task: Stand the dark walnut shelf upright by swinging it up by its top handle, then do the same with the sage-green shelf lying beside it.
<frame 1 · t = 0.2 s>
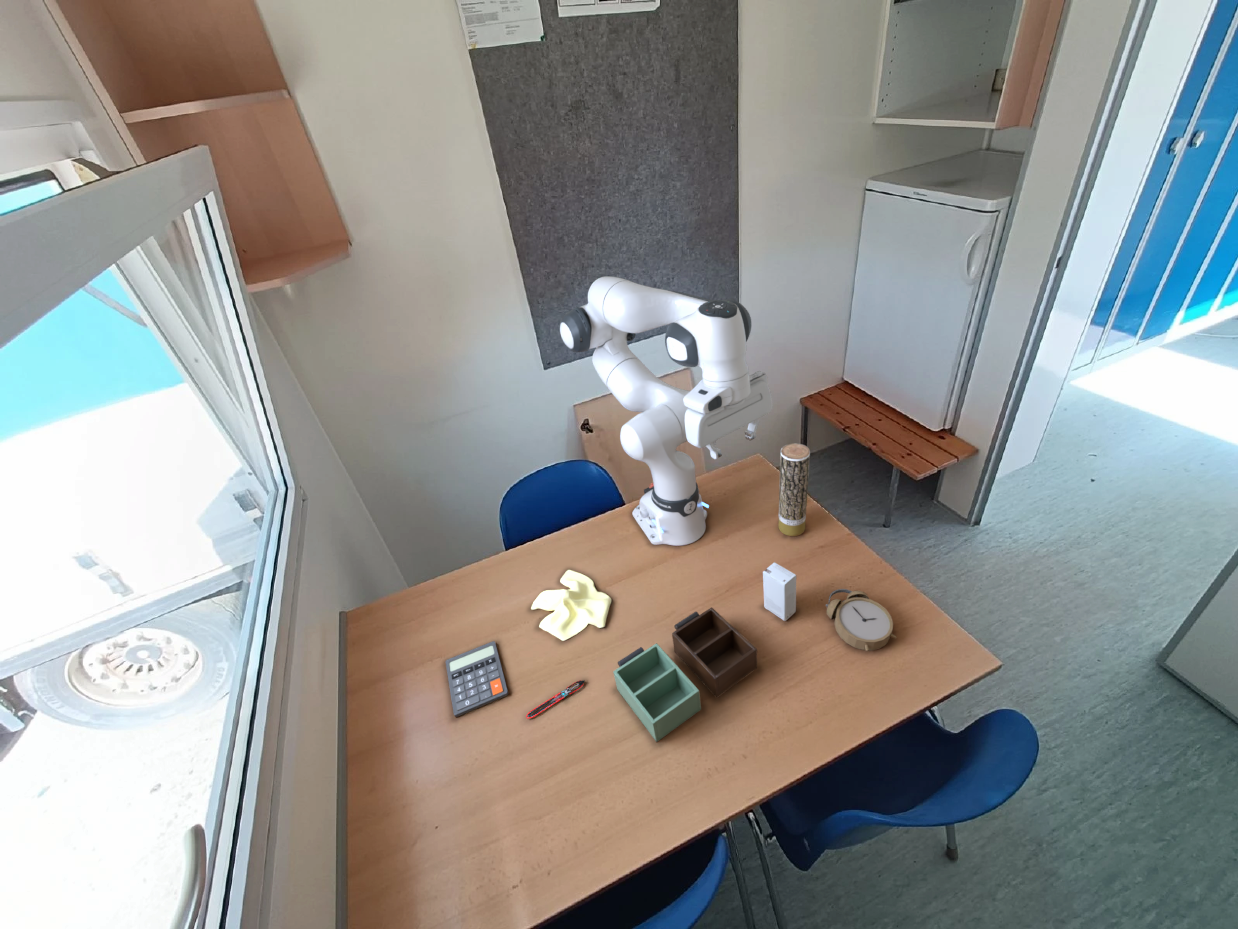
hand: (733, 447, 116), 39 cm above the table, tool pointing down, fingers open, 8 cm apart
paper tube: (791, 529, 149), on the table
walnut shelf: (709, 646, 120), point 3 cm above the table, hinge at 0.0°
sage shelf: (652, 685, 114), point 3 cm above the table, hinge at 0.0°
cloth: (570, 604, 139), on the table
pen: (556, 700, 118), on the table
alarm clock: (856, 623, 123), on the table
cosmetic box: (779, 610, 129), on the table
calculator: (476, 678, 125), on the table
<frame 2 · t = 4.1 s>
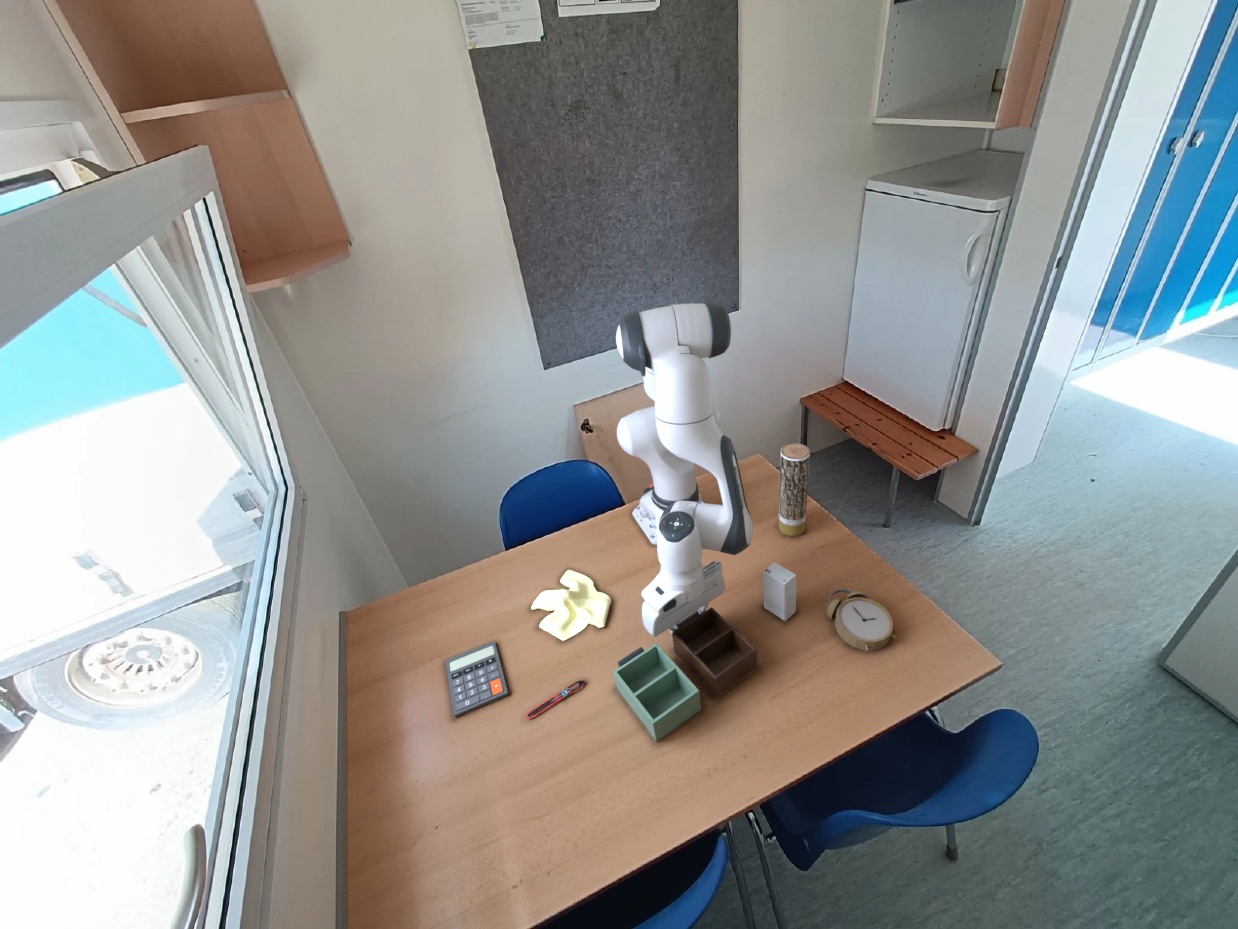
hand: (687, 624, 125), 3 cm above the table, tool pointing down, fingers closed on walnut shelf, 6 cm apart
walnut shelf: (709, 646, 120), point 3 cm above the table, hinge at 0.0°, touching gripper
everything else where it was.
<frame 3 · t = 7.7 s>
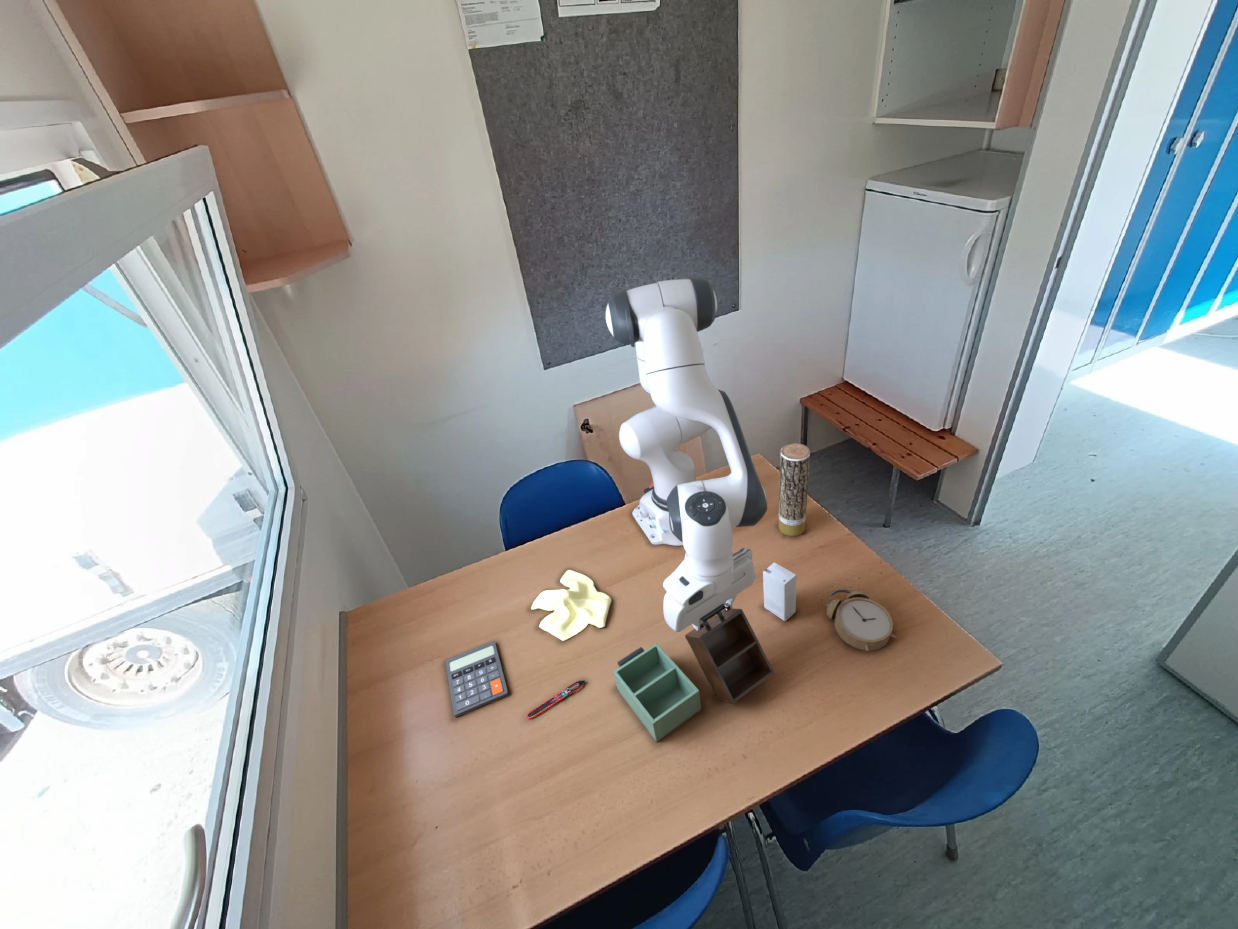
hand: (712, 617, 112), 14 cm above the table, tool pointing down, fingers closed on walnut shelf, 6 cm apart
walnut shelf: (726, 647, 113), point 8 cm above the table, hinge at 49.2°, touching gripper
everything else where it was.
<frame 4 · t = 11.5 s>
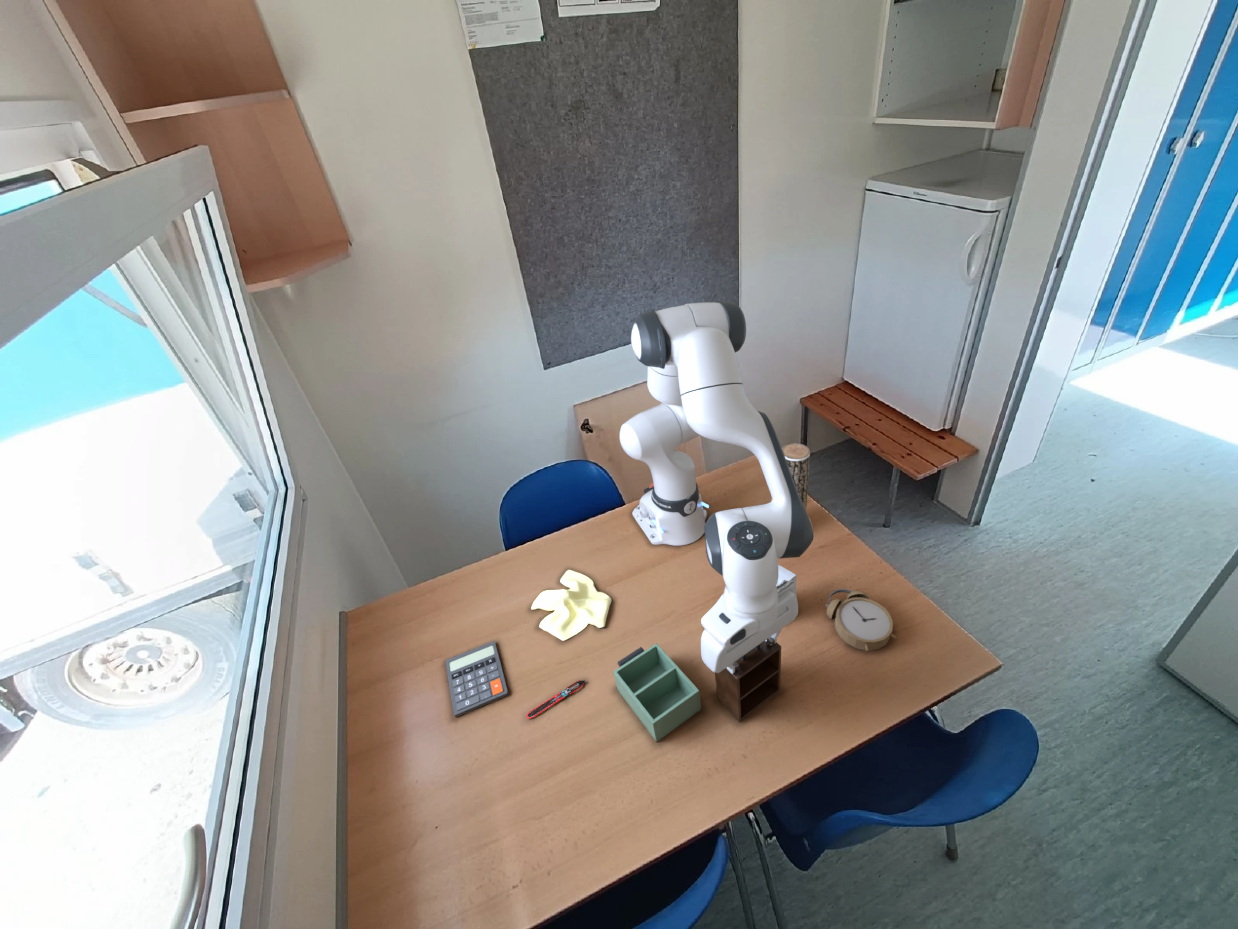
hand: (751, 655, 104), 14 cm above the table, tool pointing down, fingers open, 8 cm apart
walnut shelf: (747, 668, 108), point 8 cm above the table, hinge at 89.3°, touching gripper
everything else where it was.
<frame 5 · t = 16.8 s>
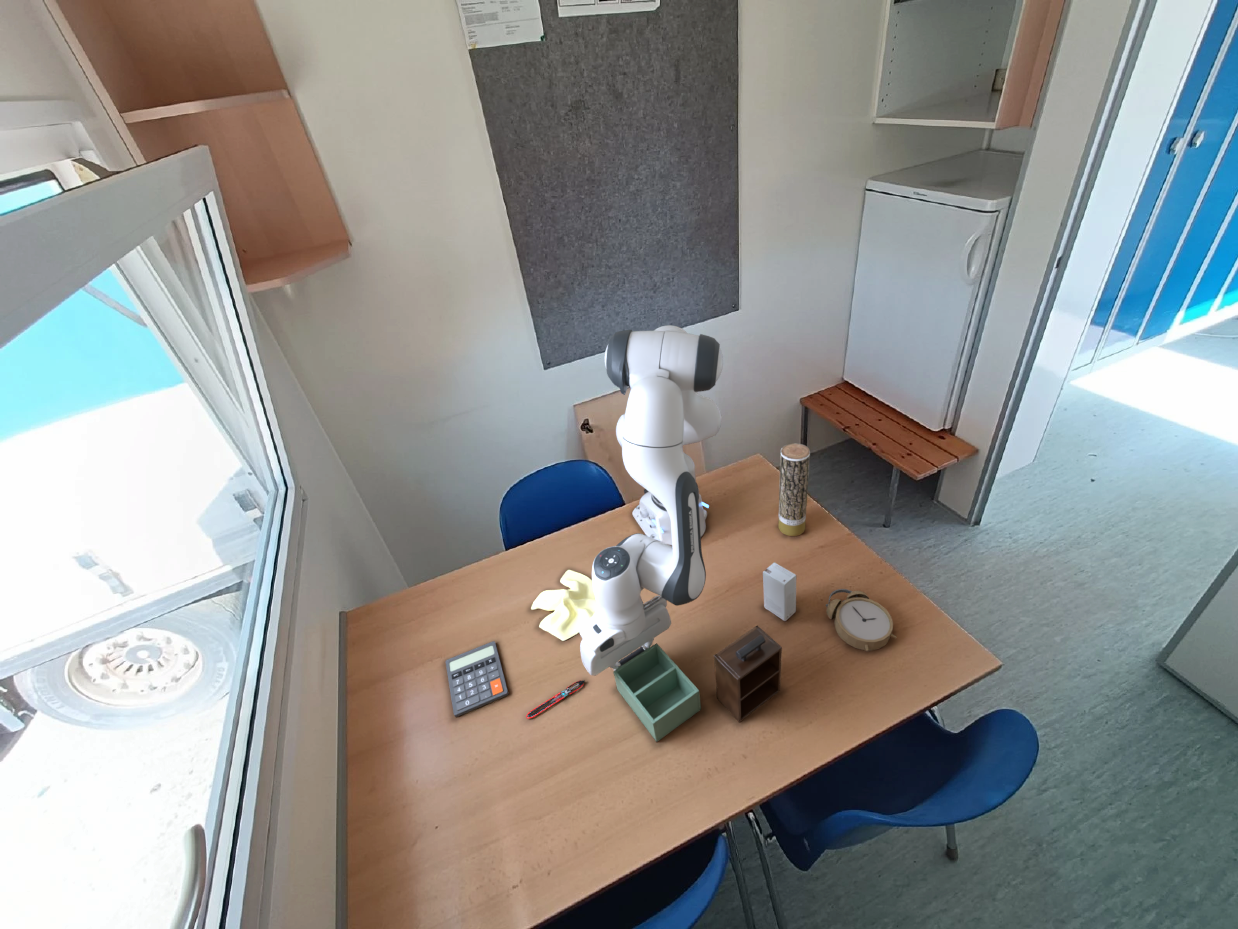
hand: (631, 660, 120), 3 cm above the table, tool pointing down, fingers closed on sage shelf, 6 cm apart
walnut shelf: (748, 669, 108), point 8 cm above the table, hinge at 90.0°
sage shelf: (652, 685, 114), point 3 cm above the table, hinge at 0.0°, touching gripper
everything else where it was.
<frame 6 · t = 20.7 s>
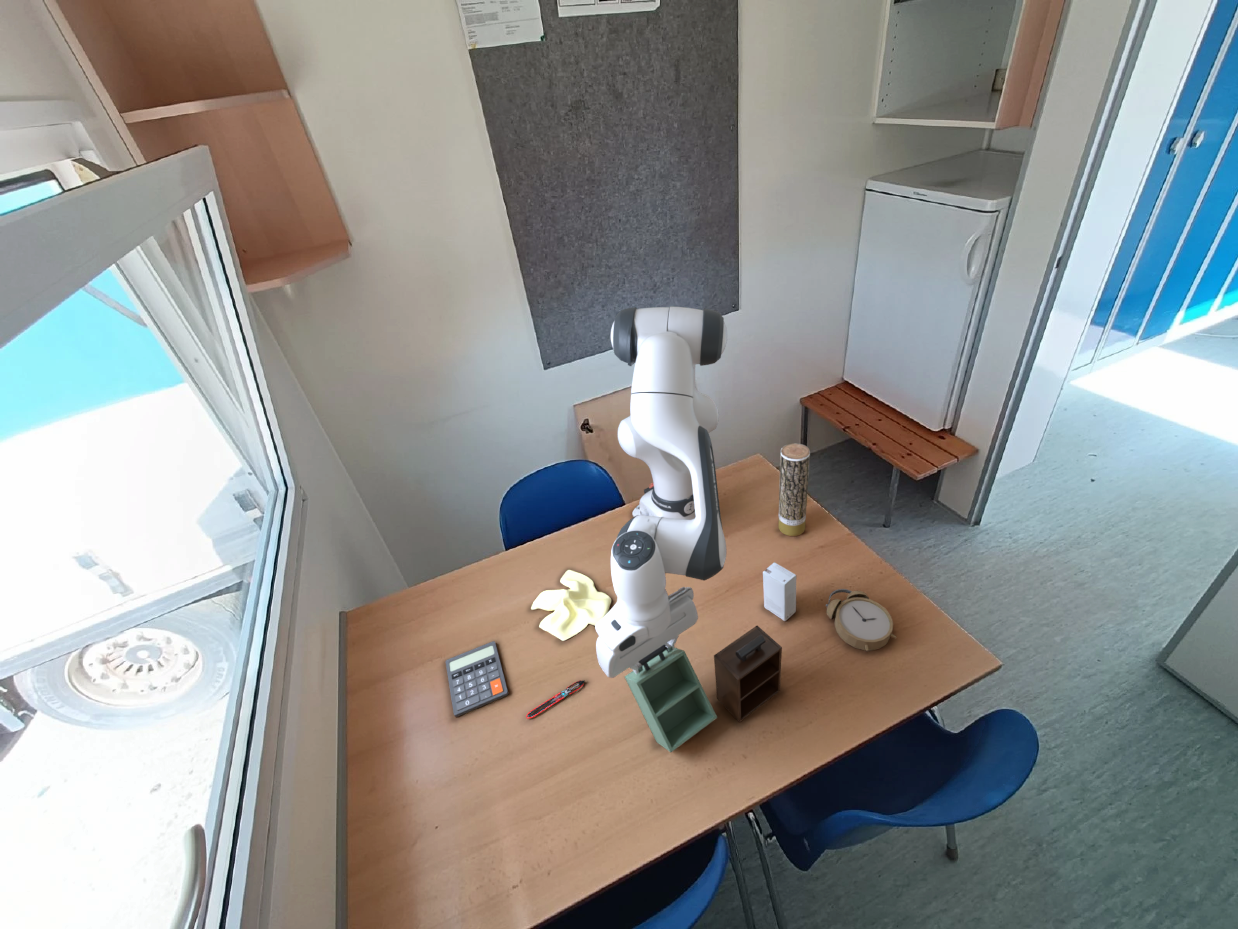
hand: (653, 659, 106), 14 cm above the table, tool pointing down, fingers closed on sage shelf, 6 cm apart
sage shelf: (667, 690, 107), point 9 cm above the table, hinge at 51.7°, touching gripper
everything else where it was.
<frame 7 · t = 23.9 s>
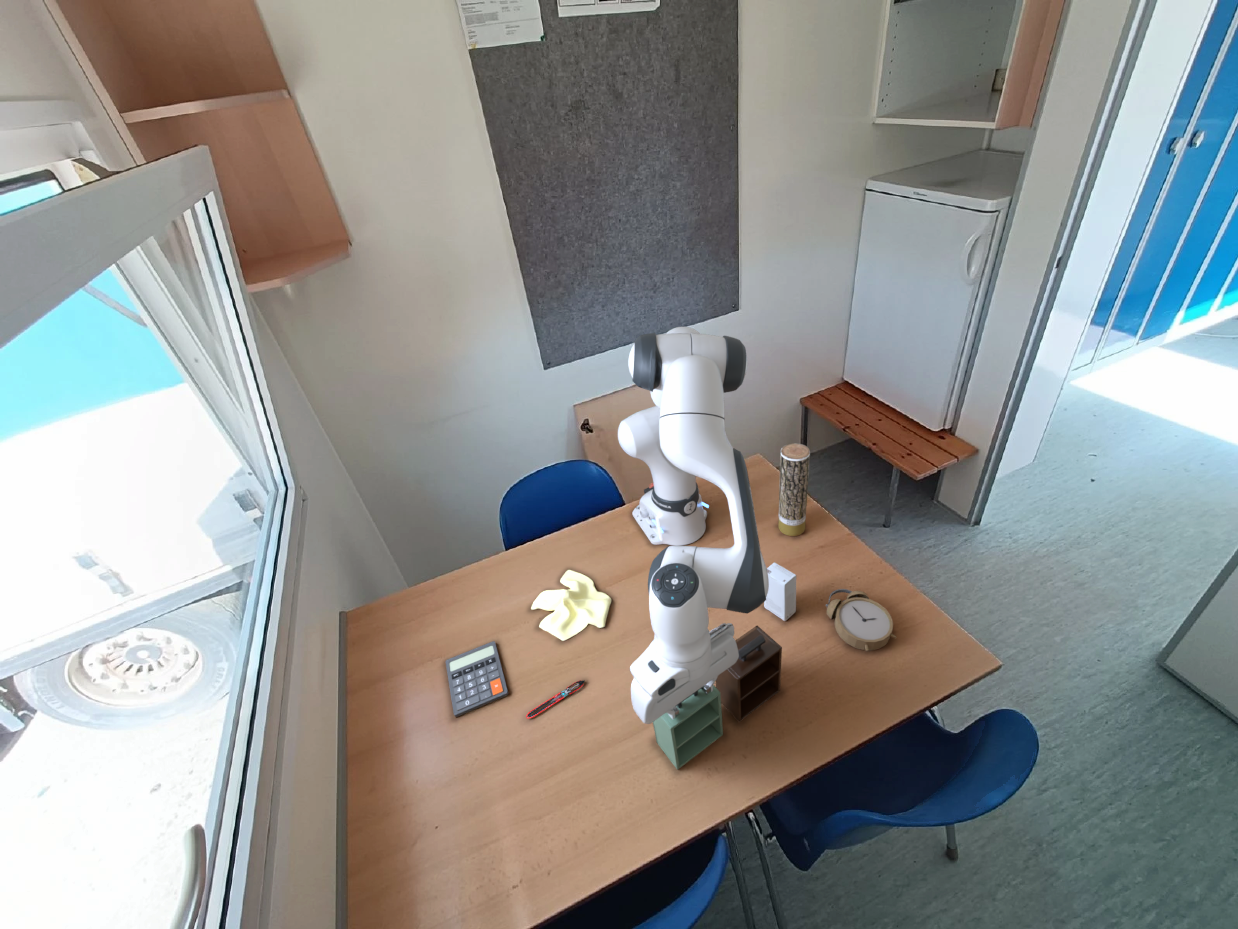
hand: (690, 702, 98), 15 cm above the table, tool pointing down, fingers closed on sage shelf, 6 cm apart
sage shelf: (686, 714, 103), point 8 cm above the table, hinge at 90.0°, touching gripper
everything else where it was.
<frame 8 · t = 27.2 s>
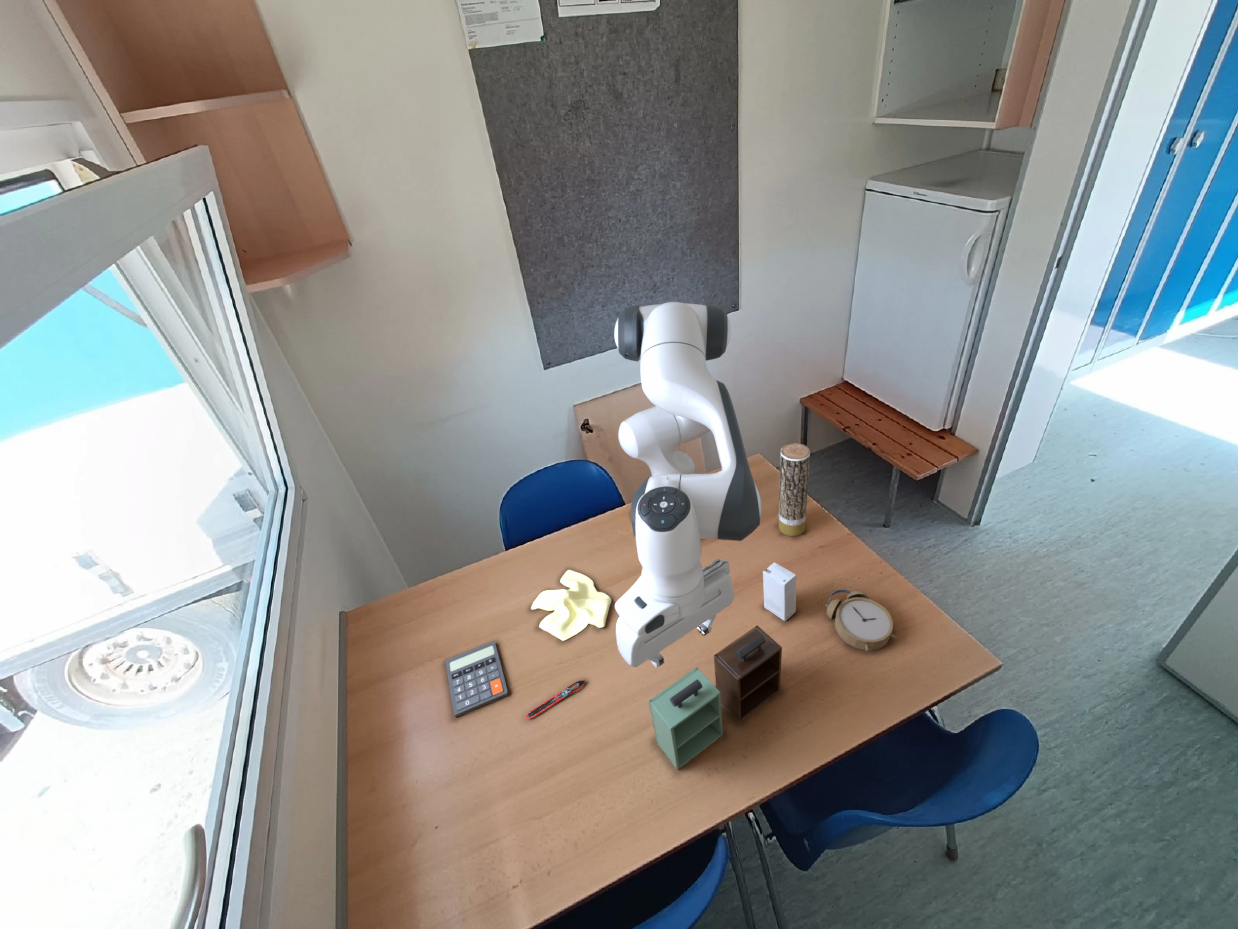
hand: (681, 647, 90), 29 cm above the table, tool pointing down, fingers open, 8 cm apart
sage shelf: (686, 714, 103), point 8 cm above the table, hinge at 90.0°
everything else where it was.
at the end: walnut shelf at +90° (first picture: +0°); sage shelf at +90° (first picture: +0°) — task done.
